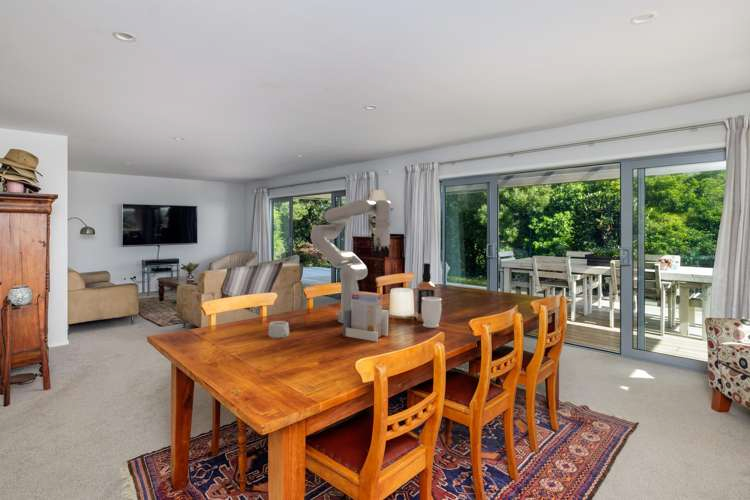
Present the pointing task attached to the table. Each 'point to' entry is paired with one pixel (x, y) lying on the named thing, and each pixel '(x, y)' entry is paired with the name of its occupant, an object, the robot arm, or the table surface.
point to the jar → (431, 311)
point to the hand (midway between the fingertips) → (382, 257)
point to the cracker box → (366, 311)
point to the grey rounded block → (278, 329)
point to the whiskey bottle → (424, 290)
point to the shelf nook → (363, 333)
